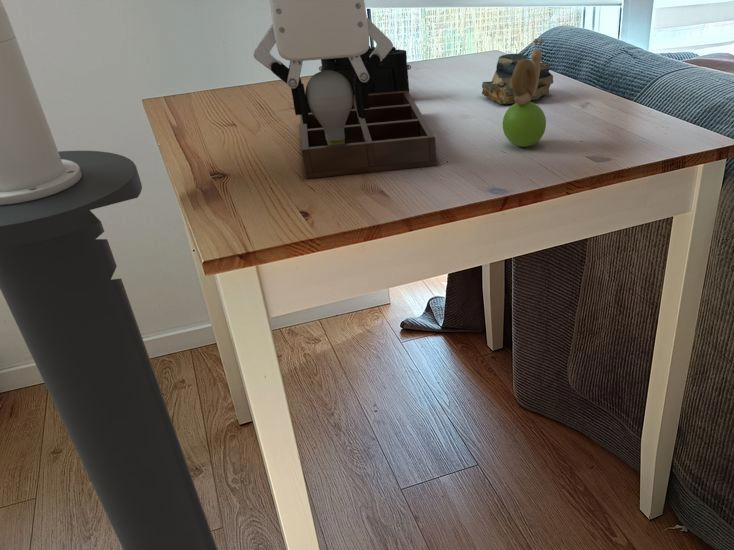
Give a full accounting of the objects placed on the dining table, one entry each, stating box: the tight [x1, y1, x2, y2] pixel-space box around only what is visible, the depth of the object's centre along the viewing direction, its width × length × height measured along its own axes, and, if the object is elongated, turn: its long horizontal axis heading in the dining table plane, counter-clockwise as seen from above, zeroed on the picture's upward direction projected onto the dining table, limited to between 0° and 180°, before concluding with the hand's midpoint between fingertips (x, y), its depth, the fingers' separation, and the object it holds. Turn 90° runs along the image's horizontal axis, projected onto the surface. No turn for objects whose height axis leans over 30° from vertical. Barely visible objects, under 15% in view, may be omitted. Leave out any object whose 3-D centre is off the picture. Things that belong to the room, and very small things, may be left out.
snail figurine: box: [502, 38, 547, 148], centre depth 85 cm, size 5×6×12 cm
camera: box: [318, 45, 412, 95], centre depth 107 cm, size 14×7×8 cm, turn 86°
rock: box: [481, 53, 554, 105], centre depth 105 cm, size 9×9×6 cm
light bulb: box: [305, 70, 354, 145], centre depth 81 cm, size 6×5×10 cm
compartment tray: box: [299, 91, 438, 179], centre depth 89 cm, size 15×23×3 cm
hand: (333, 116), depth 81 cm, fingers open, 5 cm apart
